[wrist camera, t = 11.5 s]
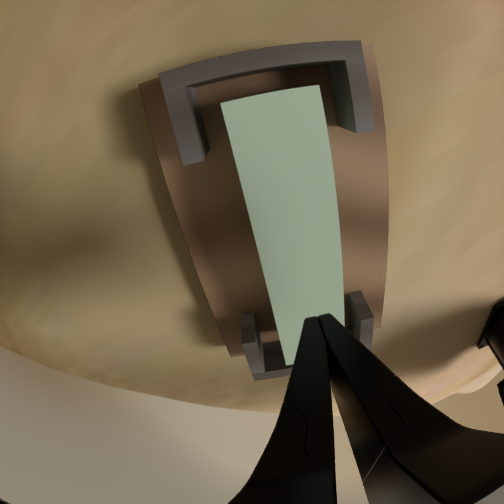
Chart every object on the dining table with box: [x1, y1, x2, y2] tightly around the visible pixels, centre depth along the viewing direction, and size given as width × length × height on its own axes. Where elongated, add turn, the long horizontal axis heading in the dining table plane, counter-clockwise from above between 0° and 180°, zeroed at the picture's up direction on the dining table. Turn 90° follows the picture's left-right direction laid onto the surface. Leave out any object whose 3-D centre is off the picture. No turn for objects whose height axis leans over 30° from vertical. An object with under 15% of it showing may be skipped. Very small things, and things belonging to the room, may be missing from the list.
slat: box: [220, 85, 345, 365], centre depth 14 cm, size 14×4×3 cm, turn 13°
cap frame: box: [138, 41, 389, 381], centre depth 14 cm, size 18×11×4 cm, turn 12°
